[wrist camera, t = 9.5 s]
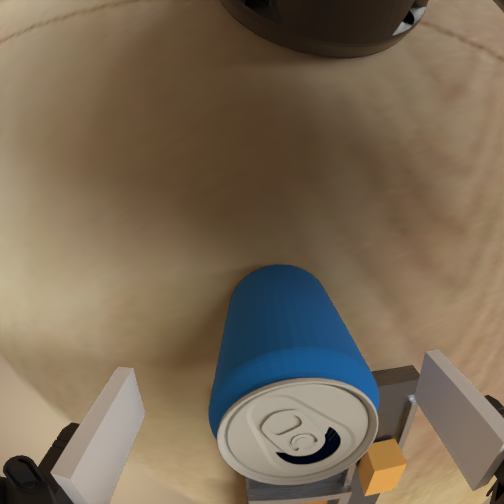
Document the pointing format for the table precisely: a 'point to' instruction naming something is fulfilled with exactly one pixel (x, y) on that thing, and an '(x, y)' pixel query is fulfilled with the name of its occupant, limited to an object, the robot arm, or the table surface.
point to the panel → (347, 482)
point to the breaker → (381, 467)
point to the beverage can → (290, 383)
